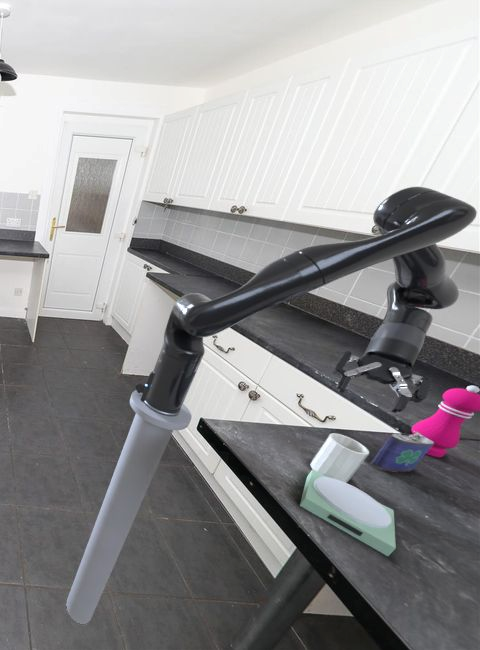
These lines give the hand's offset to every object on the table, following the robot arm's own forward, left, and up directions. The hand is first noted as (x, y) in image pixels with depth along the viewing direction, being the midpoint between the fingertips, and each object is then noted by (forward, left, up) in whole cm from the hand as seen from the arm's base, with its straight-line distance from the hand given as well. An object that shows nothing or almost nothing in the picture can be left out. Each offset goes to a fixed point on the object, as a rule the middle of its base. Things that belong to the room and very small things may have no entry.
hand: (366, 400), depth 77 cm
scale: (+3, -23, -16) cm, 28 cm away
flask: (+10, +6, -16) cm, 20 cm away
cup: (0, -11, -16) cm, 19 cm away
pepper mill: (+16, +25, -16) cm, 34 cm away
